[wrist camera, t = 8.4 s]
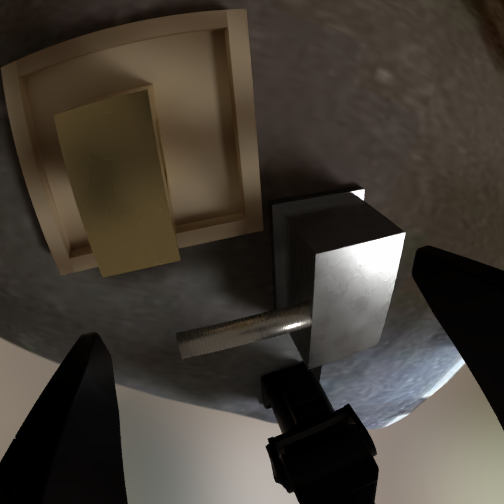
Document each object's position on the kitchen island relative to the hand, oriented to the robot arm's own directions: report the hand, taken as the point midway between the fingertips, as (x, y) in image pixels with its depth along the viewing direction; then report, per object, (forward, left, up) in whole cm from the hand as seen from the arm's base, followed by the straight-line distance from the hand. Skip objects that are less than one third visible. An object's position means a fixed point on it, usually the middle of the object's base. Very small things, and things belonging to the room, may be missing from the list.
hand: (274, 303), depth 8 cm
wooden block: (+2, +4, -12) cm, 13 cm away
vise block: (-9, -4, -13) cm, 16 cm away
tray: (+2, +4, -13) cm, 13 cm away
